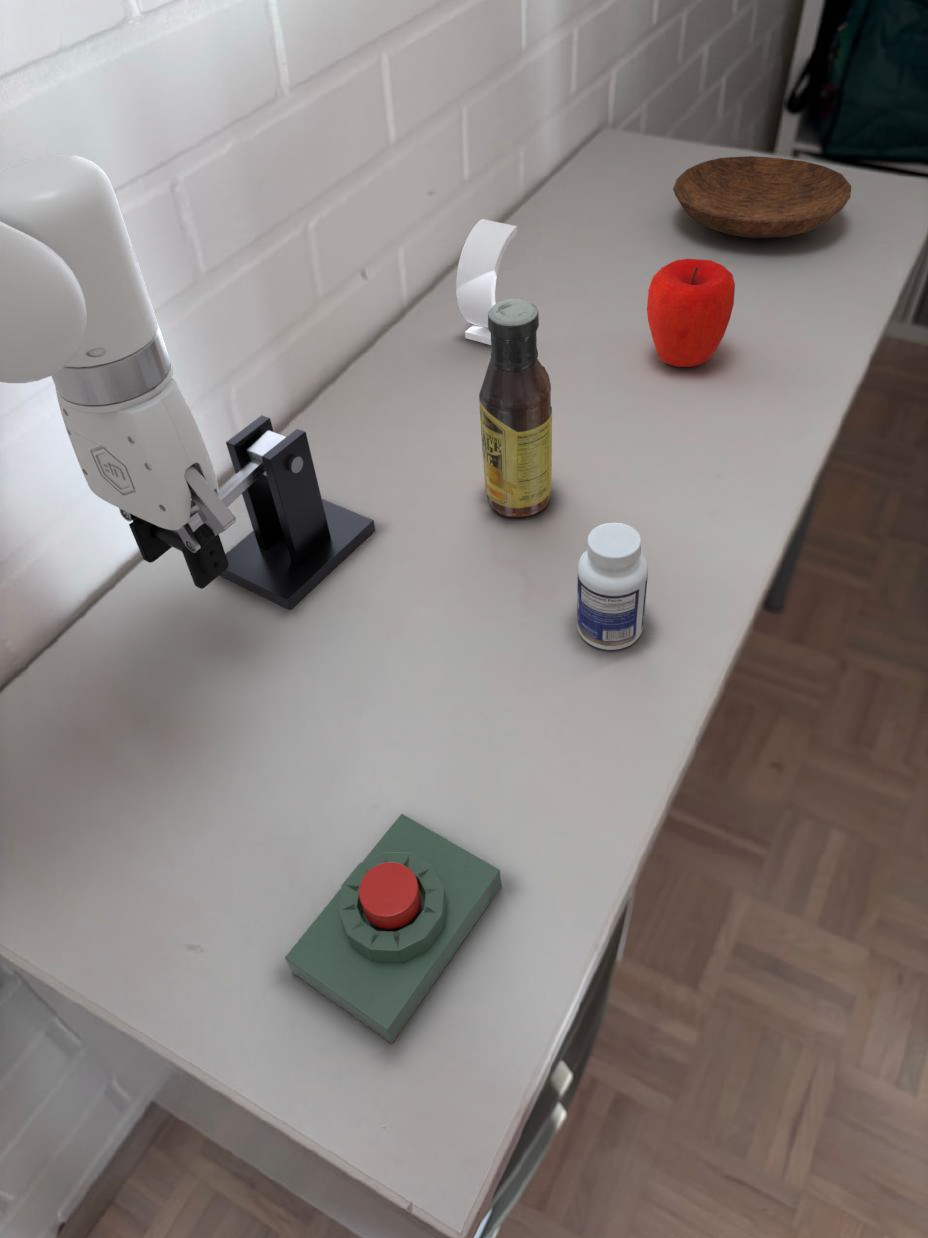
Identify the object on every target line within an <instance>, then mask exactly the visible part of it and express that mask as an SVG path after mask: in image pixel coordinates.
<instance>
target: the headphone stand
mask: <svg viewBox="0 0 928 1238" xmlns="http://www.w3.org/2000/svg"><path fill="white" fill-rule="evenodd" d="M517 235H518V225H513V224H508V223H504V222H498V221H493V220H489V219H484V218H481V219H480V220H478V221H477V222H476V224H475V225H474V226H473V228H471V231H470V232H469V234H468V236H467V238H466V240H465V242H464V245H463V247H462V250H461V253H460V256H459V260H458V264H457V271H456V282H455V291H456V293H455V294H456V300H457V301H456V302H457V305H458V310H459V311H460V313H461V316H462V317H463V319H464V320H465V321H467V322H468V323H469V324H472V325H471V326H470V327H469V328H467V330H465V331H464V335H465V336H464V337H465V339H466V340H470V341H474V342H478V343H481V344H486V345H489V346H491V333H490V331H489V329H488V312H489V310H490V309H491V308H492V307H493V306H494V305H495V304H497V302H496V286H497V280H498V279H497V277H498V273H499V269H500V265H501V263H502V259H503V257H504V254H505V253H506V250H507V248H508V246H509V245H510V243H511V242H512V240H513V239H514V238H515V237H516V236H517Z"/></svg>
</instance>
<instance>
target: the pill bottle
mask: <svg viewBox="0 0 928 1238" xmlns="http://www.w3.org/2000/svg"><path fill="white" fill-rule="evenodd" d="M576 571H577V572H576V573H577V574H576V575H577V585H576V586H577V589H576V590H577V591H576V596H577V597H576V628H577V631H578V633H579V636H581V638H582V639H583V640H584V642H586V643H587V644H589V645H591V646H593V647H594V648H597V649H601V650H606V651H616V650H621V649H625V648H628V647H630V646H631V645H633V644H634V643H635V642H636V641H637V640H638V639H639V638H640V637H641V634H642V632H643V629H644V623H645V612H646V611H645V610H646V599H647V587H648V578H649V577H648V576H649V563H648V561H647V559H646V557H645V554H643V552H642V537H641V535H640V533H639V532H638V530H637V529H636V528H634V527H632V526H631V525H629V524H626V523H622V522H605V523H601V524H599V525H598V526H595V527H594V528H592V529H591V531H590V532H589V534H588V536H587V543H586V550H584V552H583V553H582V554H581V556H580V558H579V560H578V563H577V569H576Z"/></svg>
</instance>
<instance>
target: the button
mask: <svg viewBox="0 0 928 1238" xmlns="http://www.w3.org/2000/svg"><path fill="white" fill-rule="evenodd" d="M359 898H360V901H361V904H362V907H363V910H364V913H365V915H366V917H367V919H368V920H369V921H370V922H371V923H372V924H373V925H375V926H377V927H379V928H383V929H396V928H400V927H402V926H404V925H406V924H408V923H409V922H410V921H411V920H412V919H413V918H414V917H415V916H416V914H417V913H418V910H419V908H420V904H421V895H420V891H419V887H418V882H417V879H416V876H415V875H414V873H413V872H412V871H411V870H410V869H409V868H408V867H406V866H404V865H402V864H400V863H395V862H387V863H382V864H379V865H377V866H375V867H373V868H372V869H371V870H369V871H368V872H367V873H366V874H365V876H364V877H363V879H362V881H361V883H360V887H359Z"/></svg>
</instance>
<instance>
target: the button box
mask: <svg viewBox="0 0 928 1238" xmlns="http://www.w3.org/2000/svg"><path fill="white" fill-rule="evenodd" d="M387 862H395V863H400V864H402V865H404V866H406V867H408V868H409V869H410V870H411V871H412V872H413V873H414V875H415V876H416V879H417V882H418V887H419V891H420V895H421V904H420V908H419V910H418V913H417V914H416V916H415V917H414V918H413V919H412V920H411V921H410V922H409V923H408V924H406V925H404V926H402V927H400V928H396V929H383V928H379V927H377V926H375V925H373V924H372V923H371V922H370V921H369V920H368V919H367V917H366V915H365V913H364V910H363V907H362V904H361V901H360V898H359V887H360V883H361V881H362V879H363V877H364V876H365V874H366V873H367V872H368V871H369V870H371V869H372V868H373V867H375V866H377V865H379V864H382V863H387ZM340 887H341V888H340V889H339V890H338V891H337V892H336V893H335V895H334V896H333V897H332V899H331V900H330V901H329V902H328V904H326V906H324V907H325V908H324V909H323V910H322V911H321V912H320V914H319V915H318V916H317V917H316V919H315V920H314V921H313V922H312V923H311V925H310V926H309V927H308V928H307V930H306V931H305V932H304V933H303V934H302V936H301V937H300V938H299V939H298V940H297V942H296V943H295V945H293V947H292V948H291V949H290V950H289V952H288V953H287V954H286V955H285V957H284V959H285V961H286V963H287V965H288V967H289V969H290V972H291V973H292V974H293V975H295V976H297V977H298V978H299V979H300V980H302V981H303V982H305V983H306V984H307V985H309V986H310V987H312V988H313V989H315V990H316V991H317V992H319V993H320V994H321V995H323V996H324V997H326V998H327V999H328V1000H330V1001H332V1002H333V1004H336V1005H337V1006H338V1007H340V1008H341V1009H343V1010H344V1011H345V1012H347V1013H348V1014H350V1015H351V1016H352V1017H353V1018H355V1019H356V1020H358V1021H359V1022H361V1023H362V1024H363V1025H365V1026H366V1027H368V1028H369V1029H371V1030H372V1031H374V1032H375V1033H376V1034H378V1035H379V1036H380V1037H382V1038H383V1039H385V1040H386V1041H387V1042H389V1043H390V1044H393V1043H394V1041H395V1040H396V1038H397V1037H398V1036H399V1034H400V1033H401V1031H402V1030H403V1029H404V1027H405V1026H406V1024H407V1023H408V1021H409V1019H410V1018H412V1015H413V1014H414V1013H415V1011H416V1010H417V1008H418V1007H419V1006H420V1004H421V1002H422V1001H423V1000H424V998H425V997H426V996H427V994H428V993H429V991H430V989H432V987H433V985H434V984H435V982H436V981H437V980H438V978H439V977H440V975H442V973H443V971H444V970H445V968H446V967H447V966H448V964H449V962H450V961H451V959H452V958H453V957H454V955H455V954H456V953H457V951H458V949H459V948H460V947H461V945H462V944H463V942H464V941H465V939H466V938H467V936H468V935H469V934H470V932H471V931H472V929H473V928H474V926H475V925H476V924H477V923H478V920H479V919H480V918H481V916H482V915H483V914H484V912H485V911H486V909H487V908H488V907H489V905H490V903H491V902H492V901H493V899H494V898H495V897H496V895H497V893H499V890H500V889H501V888H502V878H501V869H498V867H496V866H493V865H492V864H490V863H489V862H487V861H485V860H483V859H482V858H480V857H478V856H477V855H475V854H473V853H471V852H469V851H468V850H466V849H464V848H463V847H462V846H459V845H458V844H456V843H454V842H453V841H450V840H449V839H447V838H445V837H444V836H442V835H440V834H439V833H436V832H435V831H433V830H431V829H430V828H428V827H426V826H424V825H422V824H421V823H419V822H417V821H416V820H414V819H413V818H411V817H409V816H407V815H405V814H403V813H400V815H399V816H398V817H397V818H396V819H395V821H394V822H393V824H392V825H391V826H390V827H389V828H388V830H387V831H386V832H385V833H384V835H383V836H382V837H381V838H380V839H379V841H378V842H377V843H376V844H375V846H374V847H373V848H372V849H371V851H370V852H368V854H367V855H366V856H365V858H364V859H363V861H361V862H360V863H358V864H357V865H356V867H355V868H354V869H353V870H352V872H351V873H350V874H349V876H348V877H347V878H346V879H345V880H344V882H343V883H342V884H341V886H340Z"/></svg>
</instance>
